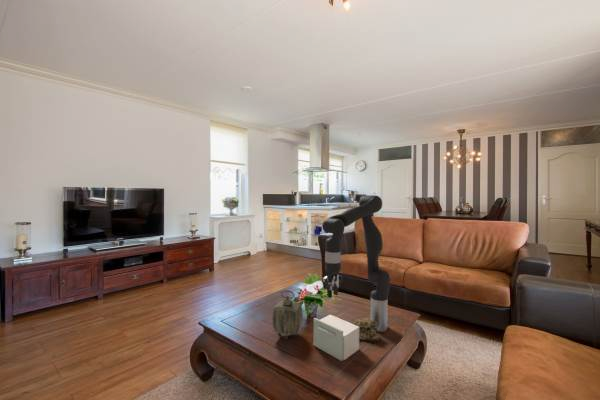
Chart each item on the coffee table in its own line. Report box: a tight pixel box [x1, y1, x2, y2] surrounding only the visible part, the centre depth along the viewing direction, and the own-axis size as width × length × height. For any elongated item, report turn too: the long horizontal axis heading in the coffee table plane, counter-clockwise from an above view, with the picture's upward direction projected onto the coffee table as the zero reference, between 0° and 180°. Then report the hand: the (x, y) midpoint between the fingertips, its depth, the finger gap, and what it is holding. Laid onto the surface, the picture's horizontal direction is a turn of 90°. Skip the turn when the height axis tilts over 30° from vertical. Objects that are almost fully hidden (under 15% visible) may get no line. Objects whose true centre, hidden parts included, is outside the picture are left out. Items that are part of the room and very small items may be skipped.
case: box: [319, 314, 360, 361], centre depth 135 cm, size 12×18×12 cm, turn 44°
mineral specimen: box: [352, 317, 380, 343], centre depth 145 cm, size 14×13×10 cm
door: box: [312, 317, 344, 362], centre depth 129 cm, size 2×17×14 cm, turn 44°
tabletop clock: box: [272, 290, 304, 340], centre depth 144 cm, size 14×9×25 cm, turn 77°
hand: (332, 295), depth 131 cm, fingers open, 4 cm apart
